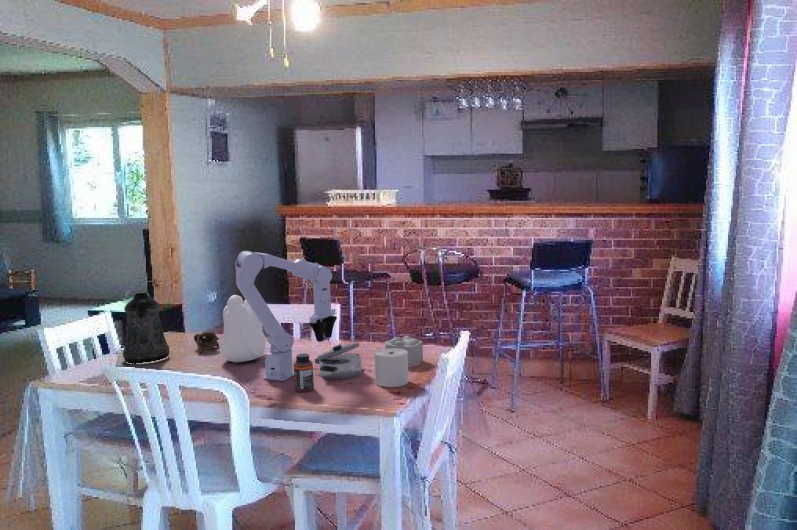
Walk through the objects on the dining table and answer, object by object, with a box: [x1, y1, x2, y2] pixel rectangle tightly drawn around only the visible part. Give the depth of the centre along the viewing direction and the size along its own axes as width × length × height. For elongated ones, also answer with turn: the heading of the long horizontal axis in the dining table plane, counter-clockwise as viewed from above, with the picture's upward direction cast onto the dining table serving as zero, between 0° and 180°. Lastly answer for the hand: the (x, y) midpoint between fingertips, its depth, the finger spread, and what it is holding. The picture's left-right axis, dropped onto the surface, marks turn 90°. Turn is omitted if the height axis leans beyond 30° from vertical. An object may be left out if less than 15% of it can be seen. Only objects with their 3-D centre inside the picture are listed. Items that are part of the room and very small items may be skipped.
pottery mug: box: [193, 331, 220, 353], centre depth 279 cm, size 12×9×8 cm
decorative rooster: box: [219, 294, 267, 363], centre depth 264 cm, size 25×16×25 cm, turn 155°
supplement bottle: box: [293, 353, 315, 393], centre depth 225 cm, size 6×6×11 cm
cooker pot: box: [314, 352, 362, 381], centre depth 242 cm, size 19×16×5 cm
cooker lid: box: [316, 341, 360, 360], centre depth 241 cm, size 15×15×2 cm
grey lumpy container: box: [384, 335, 424, 367], centre depth 253 cm, size 10×13×9 cm
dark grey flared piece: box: [122, 292, 170, 364], centre depth 266 cm, size 16×19×25 cm
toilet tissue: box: [374, 347, 410, 388], centre depth 230 cm, size 11×12×10 cm
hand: (324, 339), depth 247 cm, fingers open, 5 cm apart
